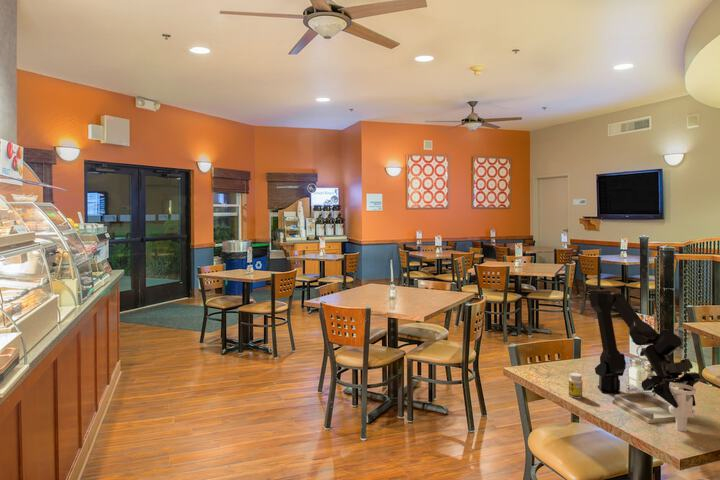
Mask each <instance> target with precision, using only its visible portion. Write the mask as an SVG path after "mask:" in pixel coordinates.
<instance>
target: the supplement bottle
mask: <svg viewBox="0 0 720 480" xmlns="http://www.w3.org/2000/svg"><path fill="white" fill-rule="evenodd" d="M582 377H583V376H582V374H580V373H577V372H571V373H570V374H569V378H568V396H569V397H570V396H571V398H573V397H574V398H573V399H580V398H583V379H582Z"/></svg>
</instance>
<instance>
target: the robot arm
mask: <svg viewBox="0 0 720 480" xmlns="http://www.w3.org/2000/svg"><path fill="white" fill-rule="evenodd" d="M588 299H589V303H590V307H591V308H592V310H593V311H595V313H596V316H597V323H598V328H599V334H600V339H601V345H602V351H601V354H600V356H599V364H597V365H596V366H595V368H594V371H595V374H596V375H598V376H599V377H598V385H597V388H598V390H599V391H600V392H601V393H602V394H604V393H605V394H616V395H620V394H621V392H620V390H621V380H620V377H623V375H624V373H625V370H626V367H627V366H626V365H627V363H626V359H625V357H626V356H625V354H624V353H621V352H620V351H619V350H618V345H617V341H616V335H615V330H614V324H613V323H614V322H613V317H612V311H613V308H614V309H615V311H616V312H617V313H618V314H619V315H620V317H621V318H622V320H623V321H624V323H625V324H626V326H627V327H628V329H629V330H628V334H629V336H630V338H631V340H632V342H633V343H634V344H635V346H636V345H637V346H639V347H641V346H646V347H642V348H641V349H640V352H639V356H641V357H646V359H647V361H648V362H649V364H650V366H651V368H649V370H650V372H654V373H655V375H650V376H648V377H646V378H645V379H644V380H642V381H641V388H642V389H643V391H644V392H649V391H651V393H652V394H653V393H654V394H656V395H657V396H659V397H661V399H663V400H664V401H665V402H666V403H667V404H669V405H672V406H673V407H675V408H677V407H678V405H677V402H676V400H675V399H674V397H673V394H672V393H671V391H670V382H674V383H680V384H685V385H689V386H692V387H694V386H695V385H696V384H697V383H699V382H700V381H702V379H703V378H702V377H701V375H700V373H698V372H695V371H694V372H693V371H692V372H691V369H693V367H694V365H693V364H692V362H691V360H690V359H689V358H684V359H680V362H679V361H678V362H677V361H676V362H675V361H674V360H672V359H669V358H668V356H670V355H672V354H673V353H674V352H675V351H676V350H678V349H679V348H680V347H682V344H683V342H682V339H681V338H680V337H679V336H678V335H677V334H675V333H673V332H671V330H670V329H662V330H661V332H660V333H658V332H657V330H655V328H653V327H652V326H651V325H650V324H649V323H647V322H645V321H643V320H642V318H640V316H639V315H638V314H637V312H636V311H635V310H634V308H633V307H632V306H631V304H630V303H629V302H628V300H627V299H626V296H625V294H624V293H622V292H613V291H611V290H610V289H595V290H591V291H590V293H589V295H588ZM683 373H684V374H683ZM677 389H678V390H679V388H677ZM683 390H684V391H692V390H689V389H686V388H683ZM691 396H692V397H693V405H692V407H695V406H696V405H697V403H696V401H695V400H696V399H695V394H694V395H691Z"/></svg>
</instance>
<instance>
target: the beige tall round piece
mask: <svg viewBox="0 0 720 480" xmlns="http://www.w3.org/2000/svg"><path fill="white" fill-rule="evenodd" d="M669 387H670V391H671V393H672V395H673V397H674V399H675V400H676V402H677V405H678V407H677V408H675V407H673V406H672V405H671V404H669V405H670V406H669V412H670V413H672V414H674V415H676V420H675V429H676V431H679V432H687V430H688V418H694V417H695V416H696V410H695V409H694V408H693V406H692V405H693V397H692V396H691V395H694V396H695V395H696V394H697V389H696V387H694V386H693V387H692V386H689V385H685V384H680V383H674V382H670V384H669ZM676 387H677V388H676ZM683 388H686V389H689V390H692V391H684V390H683ZM678 389H679V390H678Z"/></svg>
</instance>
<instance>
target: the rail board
mask: <svg viewBox="0 0 720 480" xmlns="http://www.w3.org/2000/svg"><path fill="white" fill-rule="evenodd" d="M611 401H612V402H611V403H612V404H613V405H615V406H616V407H618V408H620V409H623V411H625V412H627V413H629V414H631V415H632V416H634V417H635V418H637V419H640V420H642V421H644V422H645V423H647V424H653V423H654V424H655V423H662V422H671V421H676V415H674V414H672V413H670V412H669V406H670V405H671V404H670V403H668V402H666V401H663V400H661V399H659V398H657V397H654V396H653V395H651V394H648V393H646V391H644V392H643V391H642V392H632V393H620V394H614V397H613V399H612V400H611Z"/></svg>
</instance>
